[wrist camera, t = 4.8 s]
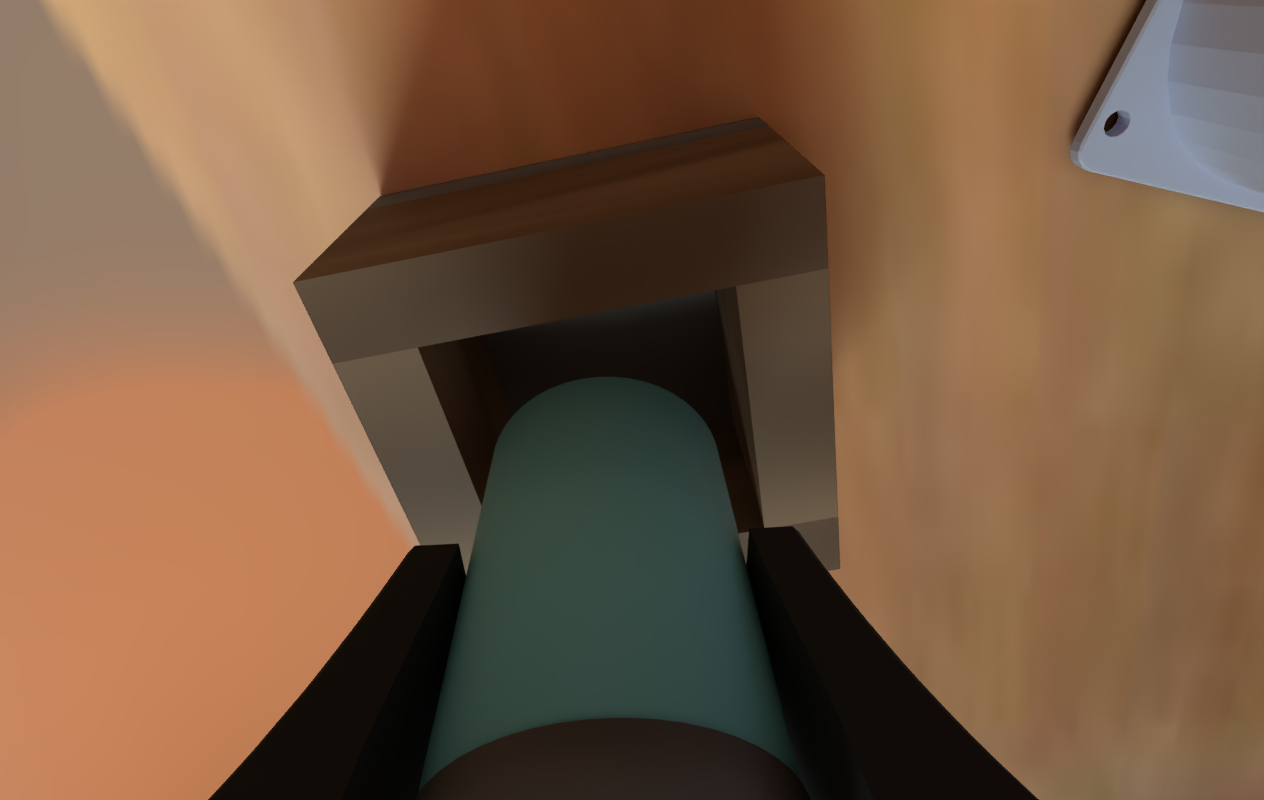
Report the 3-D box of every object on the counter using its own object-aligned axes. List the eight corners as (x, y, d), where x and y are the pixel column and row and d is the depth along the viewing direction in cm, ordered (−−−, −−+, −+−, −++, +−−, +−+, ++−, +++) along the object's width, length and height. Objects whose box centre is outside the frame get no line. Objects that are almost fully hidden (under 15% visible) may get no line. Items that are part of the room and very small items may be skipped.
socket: (380, 196, 15) (292, 282, 11) (759, 117, 14) (824, 175, 10) (492, 487, 19) (462, 630, 15) (786, 435, 19) (840, 568, 15)
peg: (566, 330, 11) (524, 785, 5) (770, 445, 12) (942, 915, 6) (448, 504, 12) (305, 1001, 6) (637, 587, 14) (667, 1063, 8)
